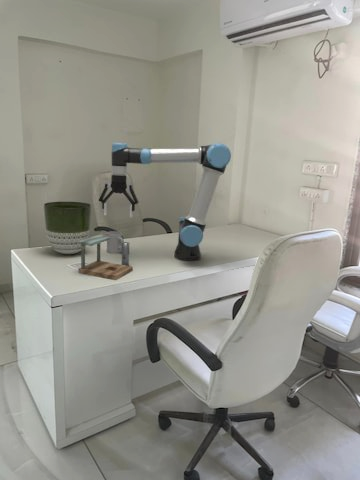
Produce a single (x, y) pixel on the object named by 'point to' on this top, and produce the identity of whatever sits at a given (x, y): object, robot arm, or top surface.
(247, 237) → the top surface
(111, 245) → the mug
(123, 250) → the peg
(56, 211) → the planter
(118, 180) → the robot arm
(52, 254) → the top surface
